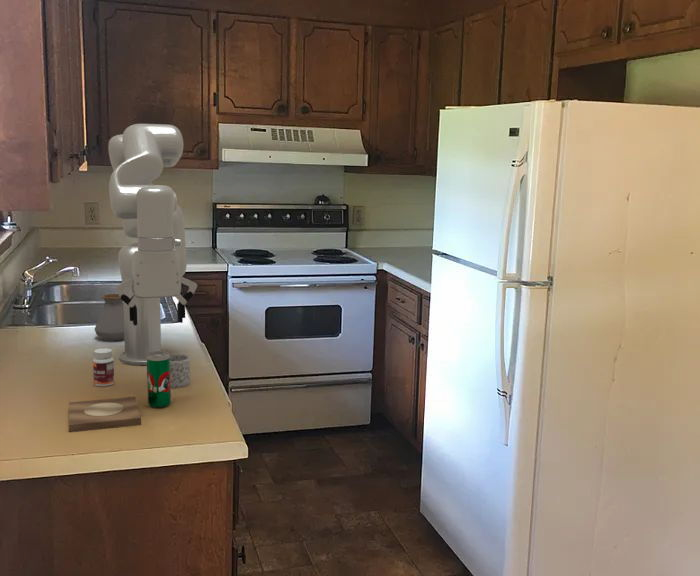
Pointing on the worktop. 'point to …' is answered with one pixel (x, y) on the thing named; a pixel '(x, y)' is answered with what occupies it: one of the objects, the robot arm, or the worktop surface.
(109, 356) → the pill bottle
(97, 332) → the coffee pot
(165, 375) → the soda can
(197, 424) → the worktop surface
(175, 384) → the mug
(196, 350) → the worktop surface
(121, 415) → the board
